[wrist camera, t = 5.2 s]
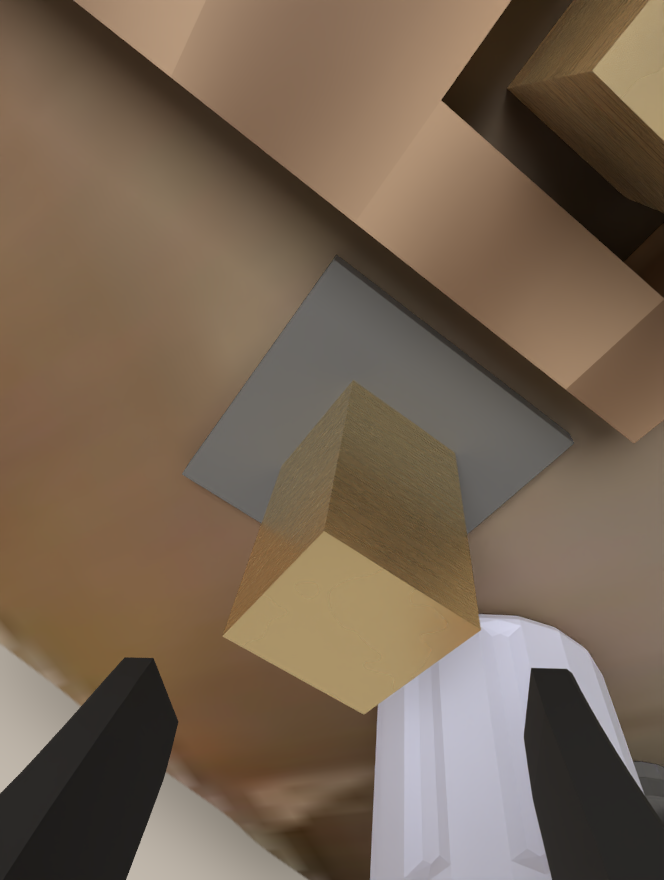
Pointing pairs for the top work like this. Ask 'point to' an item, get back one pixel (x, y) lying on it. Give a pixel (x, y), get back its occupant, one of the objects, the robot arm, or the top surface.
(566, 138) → the block
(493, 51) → the top surface
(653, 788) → the beverage cup
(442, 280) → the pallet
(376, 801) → the soap bottle
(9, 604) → the top surface
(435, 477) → the block
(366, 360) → the mat
